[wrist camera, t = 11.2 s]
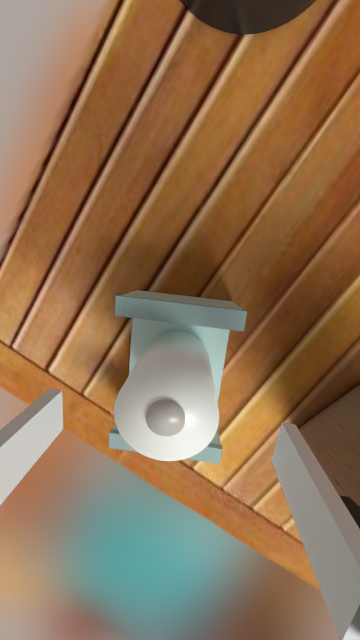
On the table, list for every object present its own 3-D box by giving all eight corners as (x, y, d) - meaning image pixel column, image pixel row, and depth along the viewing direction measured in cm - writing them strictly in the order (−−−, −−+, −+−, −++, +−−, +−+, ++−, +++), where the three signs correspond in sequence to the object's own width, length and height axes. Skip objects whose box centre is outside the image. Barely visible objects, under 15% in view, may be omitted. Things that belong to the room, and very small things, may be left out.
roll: (146, 326, 23) (114, 362, 14) (214, 334, 22) (227, 377, 13) (141, 387, 24) (110, 456, 15) (204, 395, 24) (211, 470, 15)
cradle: (135, 289, 23) (115, 295, 17) (233, 301, 22) (247, 311, 17) (128, 408, 26) (108, 447, 20) (213, 419, 26) (219, 463, 20)
